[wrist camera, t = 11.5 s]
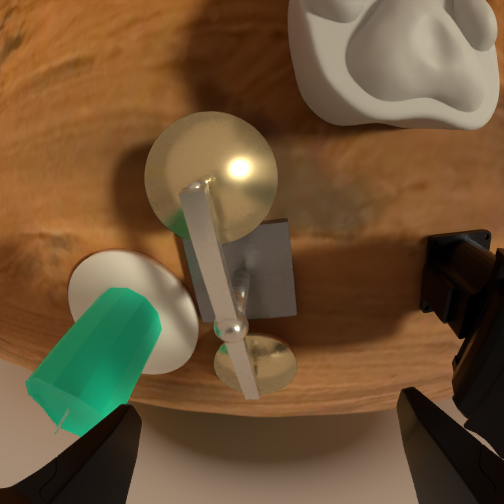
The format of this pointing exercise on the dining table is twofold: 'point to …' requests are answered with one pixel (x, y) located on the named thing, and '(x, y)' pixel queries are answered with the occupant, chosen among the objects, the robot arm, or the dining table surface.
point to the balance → (229, 240)
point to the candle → (96, 361)
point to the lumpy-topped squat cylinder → (396, 61)
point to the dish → (150, 286)
